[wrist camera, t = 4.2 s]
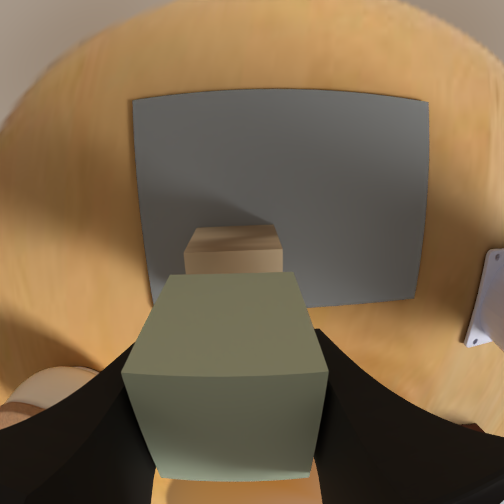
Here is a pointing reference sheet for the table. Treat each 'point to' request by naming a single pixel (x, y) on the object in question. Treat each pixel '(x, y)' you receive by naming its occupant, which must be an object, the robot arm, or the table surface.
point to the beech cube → (234, 250)
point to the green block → (228, 378)
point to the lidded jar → (43, 392)
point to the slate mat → (290, 183)
